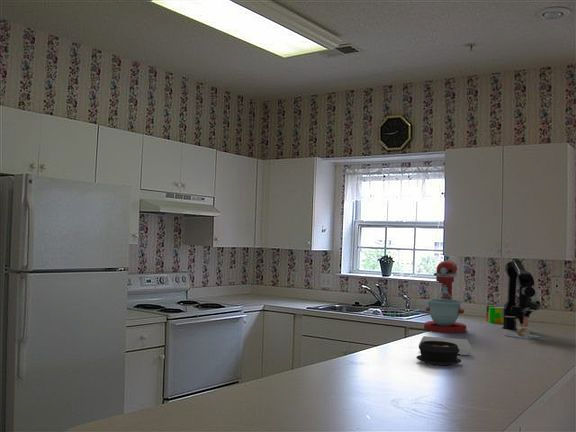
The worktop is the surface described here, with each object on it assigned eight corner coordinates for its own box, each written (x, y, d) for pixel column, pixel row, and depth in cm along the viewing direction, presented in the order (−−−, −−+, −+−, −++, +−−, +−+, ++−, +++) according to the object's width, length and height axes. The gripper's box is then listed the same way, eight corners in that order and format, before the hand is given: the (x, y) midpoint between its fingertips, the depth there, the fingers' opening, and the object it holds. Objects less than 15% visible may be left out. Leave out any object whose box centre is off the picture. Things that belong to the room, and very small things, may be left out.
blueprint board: (504, 335, 343) (504, 335, 343) (518, 333, 354) (518, 332, 354) (528, 339, 333) (528, 338, 333) (542, 337, 343) (542, 336, 343)
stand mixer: (420, 331, 349) (421, 260, 351) (427, 324, 379) (429, 259, 380) (463, 335, 341) (465, 262, 342) (468, 327, 370) (469, 261, 372)
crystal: (471, 344, 287) (419, 340, 294) (472, 339, 281) (418, 335, 288) (471, 360, 284) (418, 355, 290) (471, 354, 278) (417, 350, 284)
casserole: (461, 371, 245) (462, 350, 246) (414, 367, 250) (414, 346, 251) (461, 360, 270) (461, 340, 270) (418, 356, 275) (418, 337, 275)
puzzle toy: (501, 321, 405) (502, 306, 406) (505, 323, 395) (506, 308, 396) (486, 320, 406) (486, 305, 407) (489, 323, 396) (490, 307, 397)
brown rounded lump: (517, 325, 343) (518, 316, 344) (521, 325, 346) (522, 316, 347) (525, 326, 340) (526, 317, 340) (529, 326, 343) (530, 317, 343)
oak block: (517, 335, 343) (517, 328, 343) (521, 334, 347) (521, 327, 347) (525, 336, 340) (525, 329, 340) (530, 335, 343) (530, 328, 343)
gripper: (530, 297, 332) (529, 326, 331) (546, 296, 344) (545, 324, 344) (510, 295, 340) (510, 324, 339) (527, 294, 352) (526, 321, 352)
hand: (523, 323), depth 343 cm, fingers closed on brown rounded lump, 4 cm apart
